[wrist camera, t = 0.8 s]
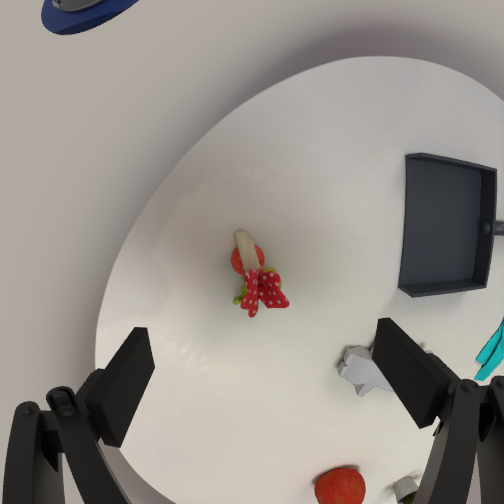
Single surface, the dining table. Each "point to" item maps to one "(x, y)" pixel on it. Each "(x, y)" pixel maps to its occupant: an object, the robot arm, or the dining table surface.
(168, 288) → the dining table surface
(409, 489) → the house plant
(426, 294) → the scoop
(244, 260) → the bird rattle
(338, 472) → the apple
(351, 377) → the bunny figurine
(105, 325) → the dining table surface
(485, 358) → the cloth
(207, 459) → the dining table surface
